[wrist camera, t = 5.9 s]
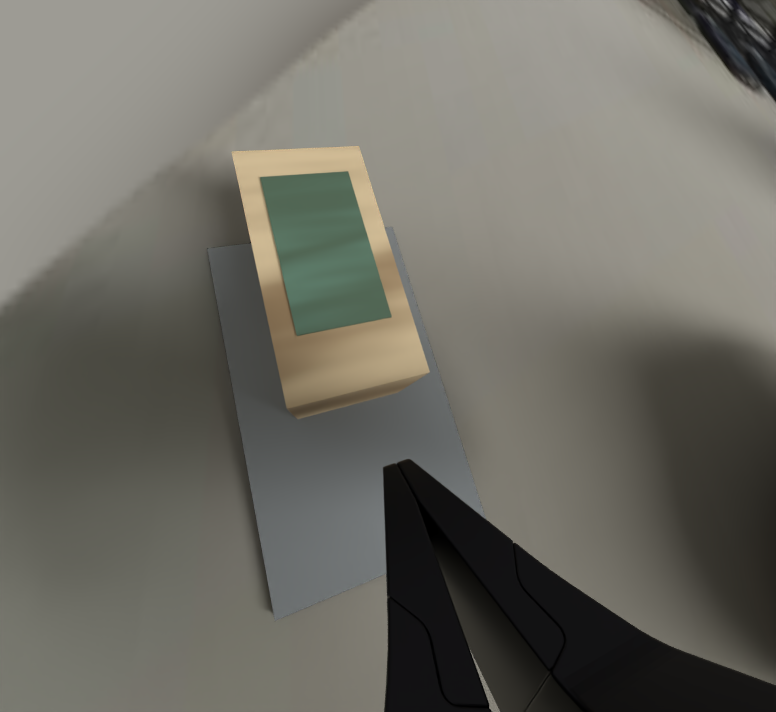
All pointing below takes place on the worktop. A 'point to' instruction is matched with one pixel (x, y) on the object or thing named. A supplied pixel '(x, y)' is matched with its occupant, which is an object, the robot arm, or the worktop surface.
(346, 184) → the letter block
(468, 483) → the slate mat
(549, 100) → the worktop surface
